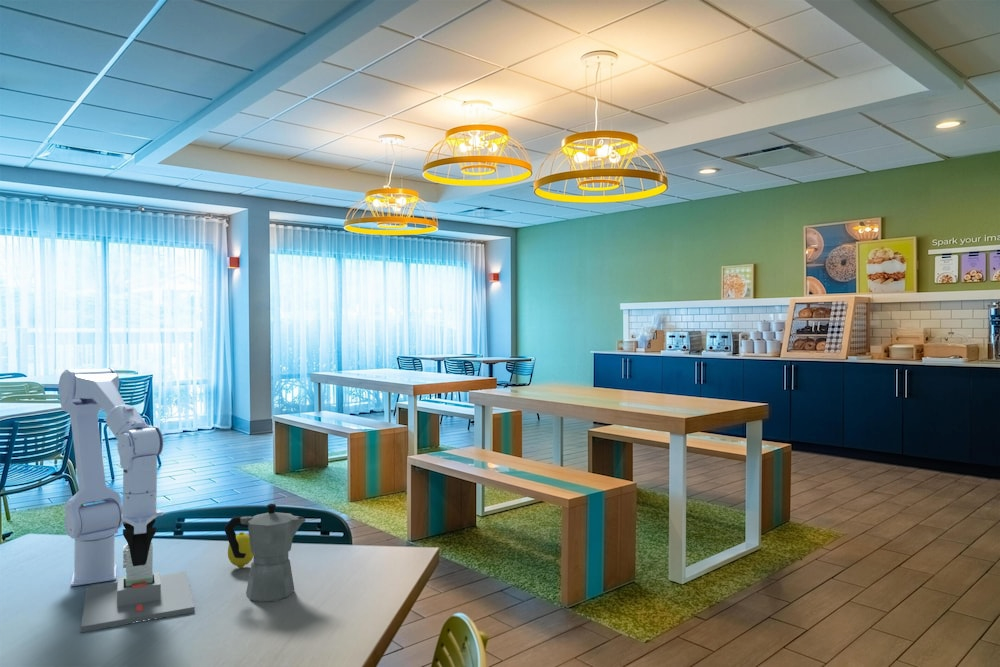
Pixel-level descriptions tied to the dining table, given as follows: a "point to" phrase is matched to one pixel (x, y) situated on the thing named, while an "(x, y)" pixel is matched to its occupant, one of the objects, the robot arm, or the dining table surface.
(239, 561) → the lemon
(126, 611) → the jack base
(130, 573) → the white rectangular block
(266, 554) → the coffeepot
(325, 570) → the dining table surface
